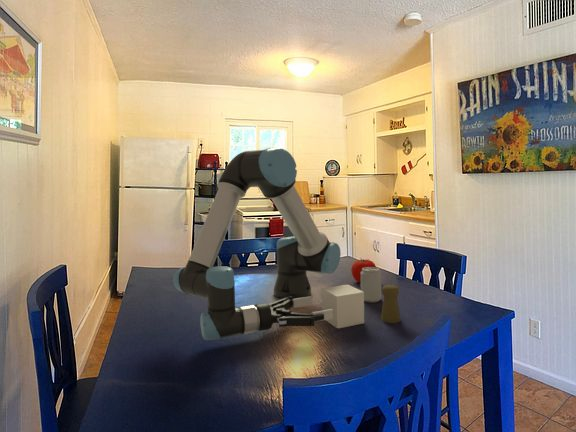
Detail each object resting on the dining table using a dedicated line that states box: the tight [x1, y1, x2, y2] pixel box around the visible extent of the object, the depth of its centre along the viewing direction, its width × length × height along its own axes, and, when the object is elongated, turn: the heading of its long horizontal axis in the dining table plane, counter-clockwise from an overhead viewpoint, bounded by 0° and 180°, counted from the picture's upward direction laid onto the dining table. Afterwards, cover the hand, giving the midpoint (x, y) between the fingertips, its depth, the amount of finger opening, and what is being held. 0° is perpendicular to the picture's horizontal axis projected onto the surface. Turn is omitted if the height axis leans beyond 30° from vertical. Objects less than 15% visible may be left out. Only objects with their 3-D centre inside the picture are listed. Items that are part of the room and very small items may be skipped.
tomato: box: [350, 257, 377, 284], centre depth 160 cm, size 11×13×10 cm
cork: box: [380, 284, 401, 324], centre depth 115 cm, size 6×6×11 cm
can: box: [360, 267, 382, 303], centre depth 135 cm, size 8×8×12 cm
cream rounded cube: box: [321, 284, 365, 329], centre depth 116 cm, size 10×10×10 cm
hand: (321, 306), depth 112 cm, fingers open, 13 cm apart
